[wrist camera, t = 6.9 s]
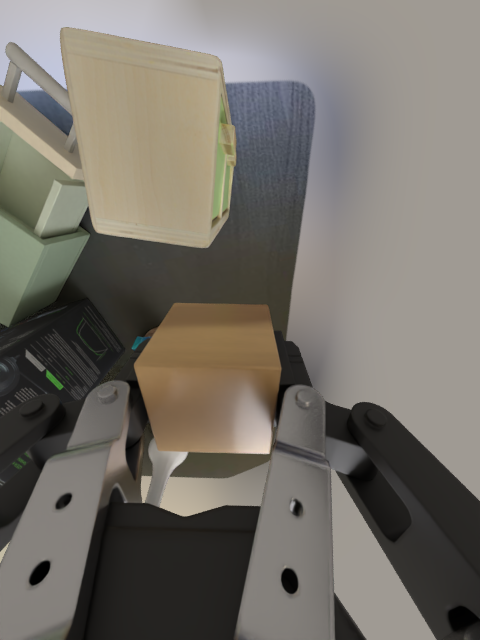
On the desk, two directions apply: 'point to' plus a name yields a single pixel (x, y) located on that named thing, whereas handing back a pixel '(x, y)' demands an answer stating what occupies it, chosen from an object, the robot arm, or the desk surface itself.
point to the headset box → (54, 359)
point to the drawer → (38, 156)
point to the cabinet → (33, 268)
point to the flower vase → (161, 471)
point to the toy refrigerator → (150, 137)
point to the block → (211, 379)
